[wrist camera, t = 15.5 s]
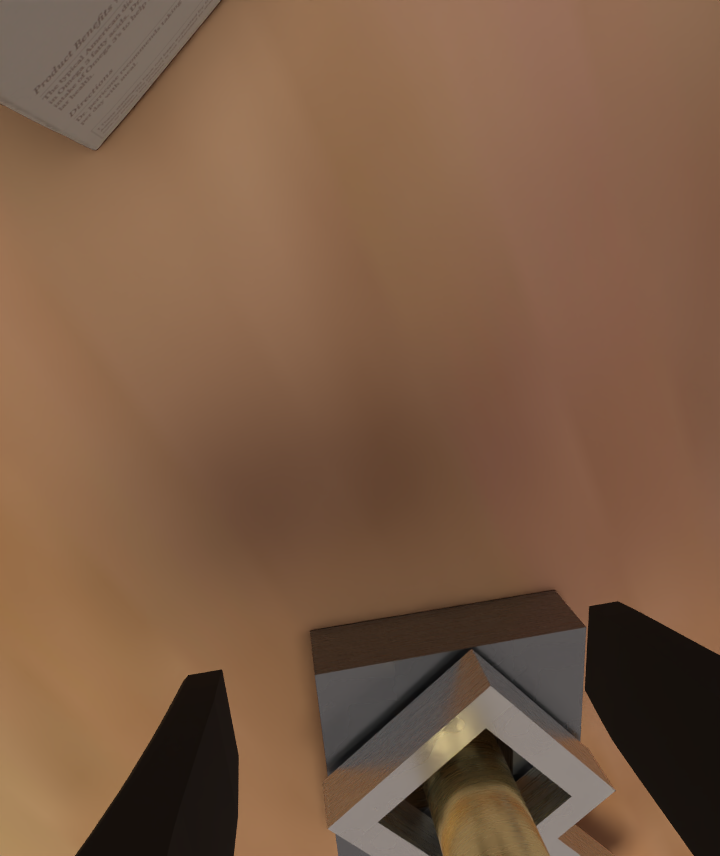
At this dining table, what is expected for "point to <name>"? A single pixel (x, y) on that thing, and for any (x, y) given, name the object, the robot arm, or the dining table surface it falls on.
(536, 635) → the block
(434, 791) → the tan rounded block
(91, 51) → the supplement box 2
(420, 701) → the collar
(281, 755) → the dining table surface
